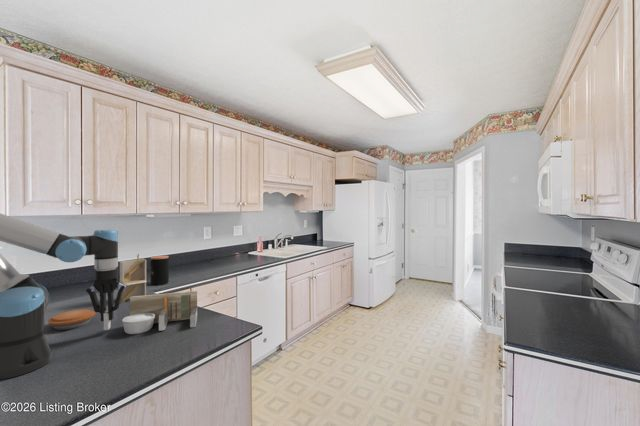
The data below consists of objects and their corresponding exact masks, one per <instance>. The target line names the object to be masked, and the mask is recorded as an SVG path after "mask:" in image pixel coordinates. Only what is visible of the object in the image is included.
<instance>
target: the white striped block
mask: <svg viewBox="0 0 640 426" xmlns="http://www.w3.org/2000/svg"><path fill="white" fill-rule="evenodd" d="M197 322H198V307H197V308H192V311H191V314H190V319H189V327H190V328H196V327H197Z"/></svg>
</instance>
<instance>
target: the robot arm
mask: <svg viewBox="0 0 640 426" xmlns="http://www.w3.org/2000/svg"><path fill="white" fill-rule="evenodd" d="M0 242H3V243H6V244H9V245H13V246H17V247H20V248H23V249H26V250H30V251H33V252H37V253H39V254H44V255H47V256H49V257H52V258H55V259H58V260H60V261H61V262H64V263H75V262H79V261H80V260H81V259H83V258H84V257H86V256H94V257H93V258H94V261H93V262H94V263H93V264H94V266H93V268H94V283H93V284H92V285H91V286H89V287H88V288H86V289H85V290H86V291H85V292H86V293H87V294H88V295H89V298H90V302H91V305H92V308H93V311H95V312H96V313H99V314H100V321H101V322H103V331H109V330H110V329H111V326H112V325H111V323H112V322H111V321H113V319H114V311H117V310H118V309H119V308H120V305H121V298H122V294H123V290H124V289H125V287H126V285H123V284H121V283H120V279H119V269H118V267H119V240H118V232H117V230H115V229H97V230H94V232H93V234H91V235H80V236H79V235H75V236H74V235H73V236H68V235H65V234H63V233H60V232H56V231H54V230H50V229H48V228H46V227H42V226H39V225H35V224H33V223H30V222H26V221H24V220H20V219H19V218H15V217H12V216H10V215H6V214H3V213H0ZM116 289H118V291H117V295H116V299H114V298H115V297H114V293H115V290H116ZM96 291H98V294H99V295H98V296H99V298H98V296H97V292H96ZM114 300H115V301H114ZM114 302H115V303H114ZM49 303H50V293H49V291H48V289H47V288H46V287H45V286H43V285H42V284H39V283H38V282H36V281H35V279H34V278H33V277H31V276H30V275H29V274H24V273H23V274H22V273H20V272H19V271H17V269H16V268H15V267H14V266H13V265H12V264H11V263H10V262H9V261H8V260H7V259H6V258H5V257H4V255H2V254H1V253H0V380H6V379H10V378H15V377H19V376H22V375H25V374H28V373H30V372H33V371H36V370H38V369H40V368H42V367H44V366H45V365H46V366H47V364H49V363H50V362H51V360H52V357H53V355H52V349H51V346H50V345H49V343H48V341H47V339H46V337H45V311H46V309H47V307H48V305H49Z"/></svg>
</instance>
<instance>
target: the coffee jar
mask: <svg viewBox="0 0 640 426" xmlns="http://www.w3.org/2000/svg"><path fill="white" fill-rule="evenodd" d="M169 257H170V256H169V255H154V256H151V257H150V263H149V264H150V265H149V266H150V284H151V286H163V285H167V284H168V283H169V282H170V280H169V277H170V276H169V275H170V274H169V273H170V272H169V271H170V270H169V269H170V268H169V266H170V265H169V263H170V262H169Z"/></svg>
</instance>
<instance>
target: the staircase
mask: <svg viewBox="0 0 640 426" xmlns="http://www.w3.org/2000/svg"><path fill="white" fill-rule="evenodd" d="M139 255H140V254H139V253H137V255H136V257H137V259H128V260H119V281H120V283H121V284H123V285H126V287H125V289H124V290H123V294H122V298H121V301H120V303H125V301H128V300H129V301H130V297H132V296H144V295H147V282H148V281H147V259H146V258H140V256H139Z"/></svg>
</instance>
